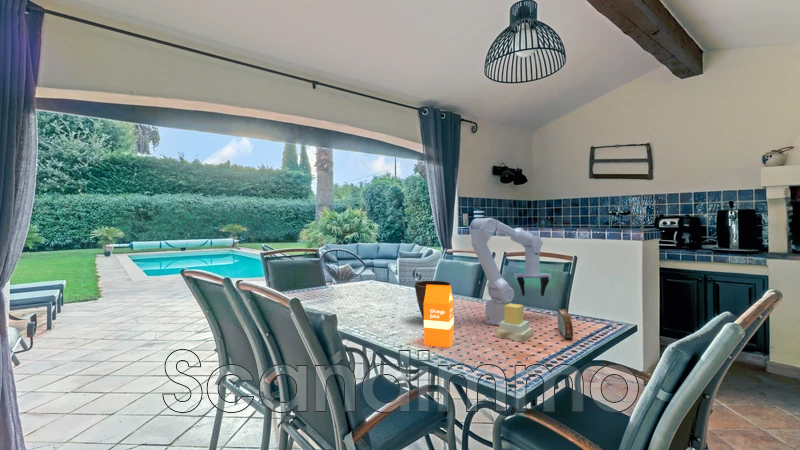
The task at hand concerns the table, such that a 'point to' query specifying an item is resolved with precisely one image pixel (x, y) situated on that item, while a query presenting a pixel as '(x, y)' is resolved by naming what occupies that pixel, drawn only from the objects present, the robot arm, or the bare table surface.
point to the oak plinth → (514, 335)
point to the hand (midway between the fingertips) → (532, 295)
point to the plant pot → (421, 290)
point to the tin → (565, 323)
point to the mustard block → (513, 313)
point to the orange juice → (438, 316)
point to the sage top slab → (514, 327)
